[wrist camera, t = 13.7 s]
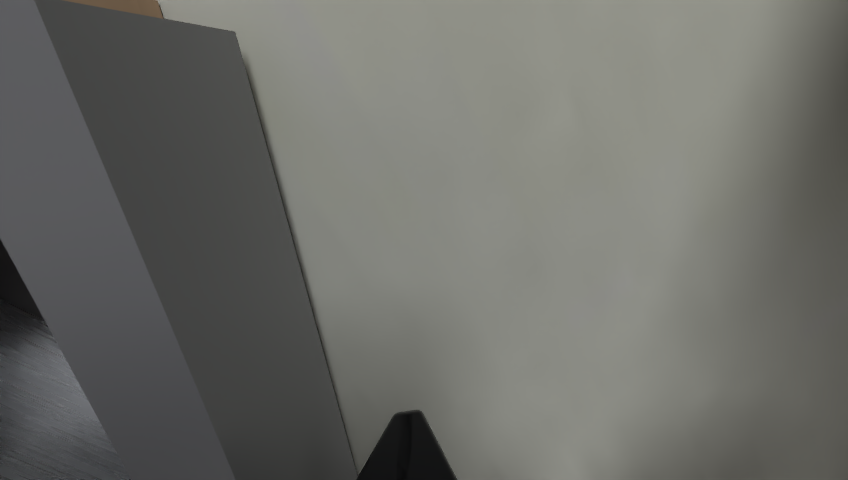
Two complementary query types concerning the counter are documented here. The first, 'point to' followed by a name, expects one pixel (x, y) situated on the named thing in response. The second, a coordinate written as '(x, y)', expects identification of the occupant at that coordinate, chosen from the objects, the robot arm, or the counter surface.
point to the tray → (160, 245)
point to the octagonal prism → (46, 409)
